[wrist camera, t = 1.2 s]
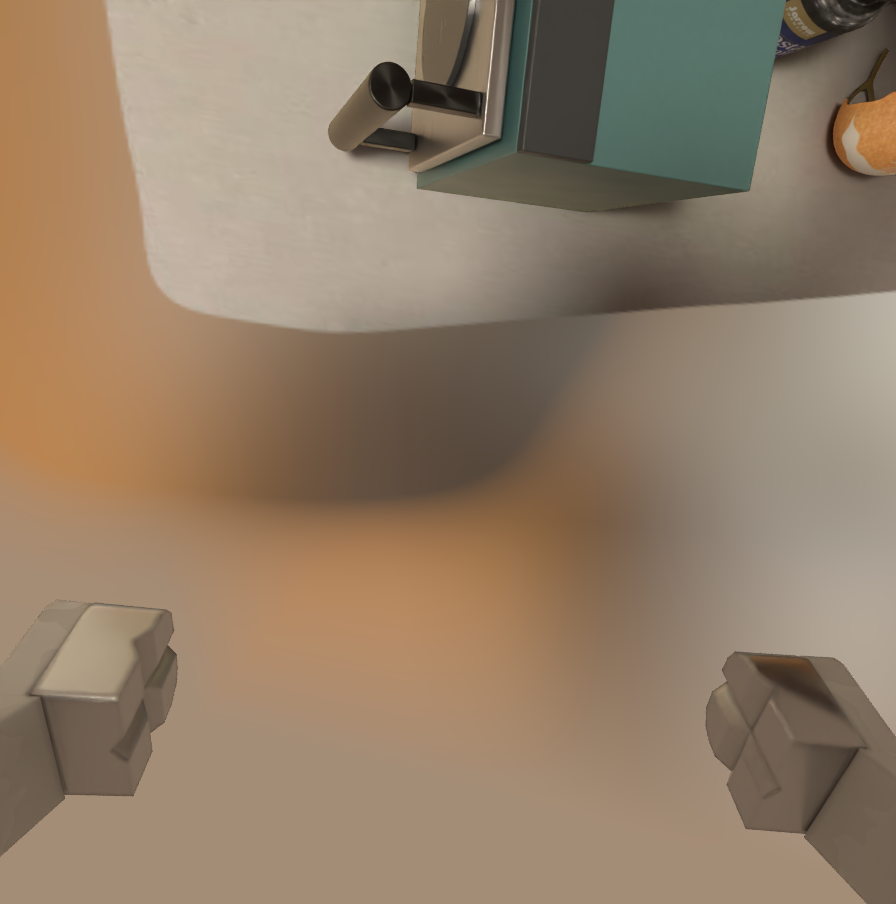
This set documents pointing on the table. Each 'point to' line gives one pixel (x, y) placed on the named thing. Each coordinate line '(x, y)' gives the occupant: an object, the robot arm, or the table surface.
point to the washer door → (438, 86)
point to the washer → (625, 104)
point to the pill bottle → (822, 21)
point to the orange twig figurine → (867, 131)
